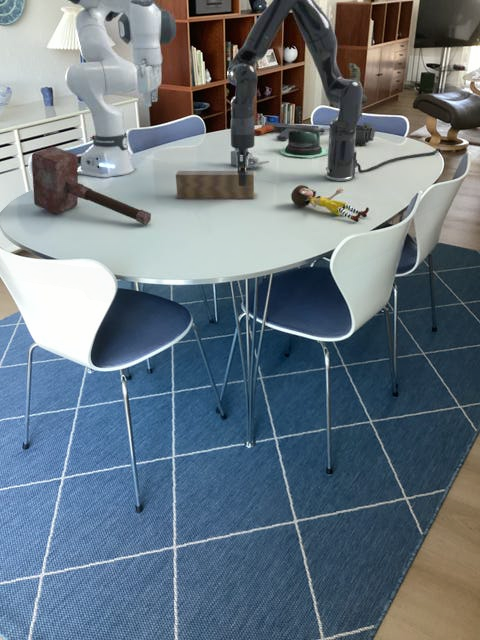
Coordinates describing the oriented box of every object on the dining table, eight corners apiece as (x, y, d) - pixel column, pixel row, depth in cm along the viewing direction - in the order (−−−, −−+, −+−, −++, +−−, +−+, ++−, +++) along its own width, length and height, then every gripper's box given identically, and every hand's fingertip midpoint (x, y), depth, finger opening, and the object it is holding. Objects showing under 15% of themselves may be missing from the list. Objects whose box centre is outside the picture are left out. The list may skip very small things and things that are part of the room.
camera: (240, 131, 219) (270, 136, 210) (241, 161, 225) (269, 168, 216) (225, 135, 213) (254, 141, 204) (226, 165, 219) (254, 172, 210)
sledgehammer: (159, 186, 162) (53, 145, 173) (139, 196, 154) (29, 152, 166) (154, 239, 172) (54, 196, 183) (135, 250, 164) (32, 205, 176)
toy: (345, 120, 249) (377, 123, 242) (343, 139, 253) (375, 143, 246) (337, 123, 243) (369, 127, 236) (336, 143, 247) (367, 147, 240)
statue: (367, 132, 266) (374, 63, 251) (349, 133, 264) (355, 64, 249) (357, 127, 275) (362, 61, 260) (339, 129, 273) (344, 62, 258)
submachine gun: (244, 131, 261) (267, 121, 279) (244, 137, 262) (267, 127, 281) (306, 137, 247) (327, 126, 266) (306, 143, 248) (326, 132, 267)
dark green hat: (332, 145, 241) (326, 158, 224) (294, 164, 249) (286, 177, 233) (317, 113, 235) (310, 124, 219) (279, 133, 244) (269, 145, 228)
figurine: (354, 211, 157) (283, 185, 169) (349, 235, 161) (280, 207, 174) (376, 199, 166) (307, 175, 178) (371, 222, 170) (303, 197, 182)
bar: (177, 198, 185) (175, 174, 181) (179, 194, 190) (177, 170, 185) (253, 198, 184) (253, 174, 180) (254, 194, 188) (254, 170, 184)
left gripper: (150, 61, 167) (154, 109, 174) (163, 54, 185) (166, 98, 192) (129, 61, 168) (135, 109, 175) (144, 55, 185) (148, 99, 192)
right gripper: (253, 136, 169) (253, 188, 177) (255, 126, 181) (255, 176, 189) (228, 136, 169) (229, 188, 177) (232, 126, 181) (233, 175, 190)
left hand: (151, 104), depth 184 cm, fingers open, 8 cm apart
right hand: (243, 181), depth 183 cm, fingers open, 8 cm apart
